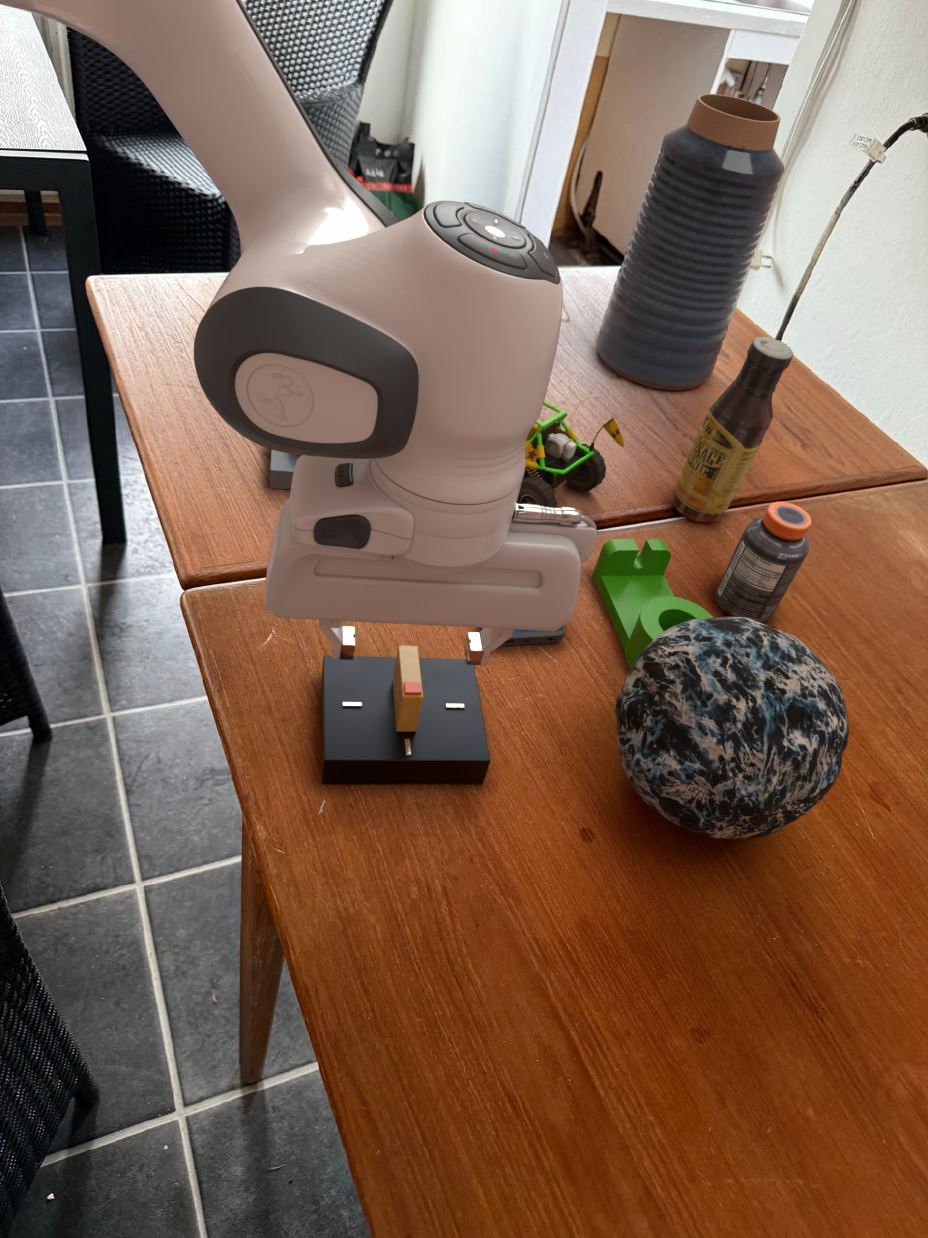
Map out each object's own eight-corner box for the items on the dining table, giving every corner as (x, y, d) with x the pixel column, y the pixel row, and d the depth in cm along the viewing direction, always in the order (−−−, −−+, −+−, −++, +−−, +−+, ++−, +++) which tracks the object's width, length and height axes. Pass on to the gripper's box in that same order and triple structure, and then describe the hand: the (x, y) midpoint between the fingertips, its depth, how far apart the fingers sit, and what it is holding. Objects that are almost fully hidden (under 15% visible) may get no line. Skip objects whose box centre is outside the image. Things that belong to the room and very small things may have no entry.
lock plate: (321, 785, 64) (324, 759, 61) (321, 680, 71) (323, 653, 68) (483, 784, 66) (490, 759, 64) (467, 683, 73) (473, 657, 71)
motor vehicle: (477, 421, 102) (494, 337, 95) (615, 501, 95) (644, 417, 88) (412, 456, 95) (425, 368, 88) (556, 546, 88) (583, 459, 81)
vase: (586, 372, 115) (663, 105, 93) (601, 322, 127) (673, 74, 105) (707, 405, 114) (814, 144, 92) (711, 351, 126) (806, 108, 104)
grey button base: (269, 488, 87) (270, 454, 84) (273, 431, 94) (273, 399, 91) (370, 494, 89) (374, 462, 86) (366, 438, 96) (370, 407, 93)
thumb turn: (392, 680, 68) (398, 642, 65) (411, 680, 68) (418, 643, 65) (396, 732, 64) (403, 694, 61) (416, 732, 65) (424, 695, 62)
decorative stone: (611, 871, 62) (682, 742, 52) (582, 697, 74) (635, 563, 64) (819, 882, 65) (928, 761, 54) (760, 712, 76) (839, 585, 66)
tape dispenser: (714, 690, 77) (734, 654, 74) (640, 693, 75) (657, 656, 72) (655, 574, 87) (671, 539, 84) (589, 575, 86) (602, 539, 82)
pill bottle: (752, 581, 89) (799, 491, 81) (783, 622, 85) (837, 532, 78) (702, 586, 87) (746, 495, 79) (732, 629, 83) (782, 537, 76)
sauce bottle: (659, 493, 98) (725, 326, 84) (706, 489, 100) (778, 326, 86) (686, 530, 94) (760, 361, 80) (735, 526, 96) (816, 361, 82)
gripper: (594, 481, 57) (543, 630, 66) (270, 453, 53) (265, 617, 62) (617, 544, 52) (558, 694, 62) (265, 519, 48) (260, 685, 58)
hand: (409, 656), depth 62 cm, fingers open, 8 cm apart
